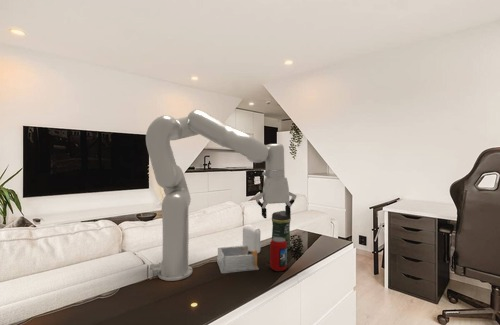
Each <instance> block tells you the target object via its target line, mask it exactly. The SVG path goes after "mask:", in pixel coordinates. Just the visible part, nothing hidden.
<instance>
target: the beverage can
mask: <svg viewBox="0 0 500 325" xmlns="http://www.w3.org/2000/svg"><path fill="white" fill-rule="evenodd" d="M269 244H270V245H269V267H270V269H271V270H274V271H276V272H283V271H284V270H286V269H287V266H288V249H287V242H286V240H285V238H282V237H274V238H272V237H271V240H270V243H269Z"/></svg>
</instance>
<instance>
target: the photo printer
mask: <svg viewBox="0 0 500 325" xmlns="http://www.w3.org/2000/svg"><path fill="white" fill-rule="evenodd" d="M242 246H248V252H250V253H252V250H257V254H259V253H260V252H261V230H260V228H259V227H258V226H256V225H254V224H245V225H244V226H243V227H242Z"/></svg>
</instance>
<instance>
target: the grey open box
mask: <svg viewBox="0 0 500 325" xmlns="http://www.w3.org/2000/svg"><path fill="white" fill-rule="evenodd" d="M216 262H217V263H216V264H217V265H218V268H219V271H220V274H229V273H240V272H249V271H258V270H259V269H260V268H259V266H258V253H257V250H252V252H251V253H249V251H248V246H243V245H238V246H237V245H236V246H234V245H233V246H224V247H217V258H216Z"/></svg>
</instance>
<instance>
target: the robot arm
mask: <svg viewBox="0 0 500 325" xmlns="http://www.w3.org/2000/svg"><path fill="white" fill-rule="evenodd" d="M198 135H200V136H201V137H203V138H206V139H207V140H209V141H211V142H213V143H214V144H217V145H218V146H221V147H223V148H225V149H226V148H227V149H230V150H232V151H234V152H236V153H239V154H240V155H242V156H244V157H246V159H247V160H248V161H249V162H251V163H255V164H257V163H263V162H265V170H264V171H263V172H262V173H261V174H262V176H264V179H263V187H262V192H261V193H259V194H258V195H256V196H254V200H255V201H256V203H257V205H258V206H259V207H261V216H262V218H263V219H267V215H268V214H267V208H266V207H267V205H269V204H270V205H271V204H272V205H273V204H284V203H285V207H284V208H285V210H284V211H285V215H286V216H288V217H290V214H291V212H292V211H291V210H292V209H291V207H292V205H293V204H294V203H295V201H296V198H297V194H294V193H292V192H290V191H289V190H290V189H289V183H288V182H289V181H288V178H287V177H285V172H286V171H285V147H284V145H283V144H282V143H269V144H264V143H263V142H261V141H260V140H258V139H256V138H255V137H253V136H250V135H248V134H247V133H245V132H243V131H240V130H238V129H236V128H235V127H232V126H231V125H229V124H227V123H225V122H223V121H222V120H219V119H218V118H216V117H214V116H213V115H211V114H209V113H207V112H206V111H203V110H201V109H194V110H192V111H191V112H189V113H188V115H187V116H184V117H180V118H175V117H173V116H171V115H164V114H163V115H160V116H159V117H156V118H155V119H154V120H153V121H152V122H150V125H149V126H148V128H147V130H146V134H145V145H146V148H147V153H148V156H149V159H150V163H151V168H152V170H153V174H154V177H155V181H156V183H157V185H158V186H159V187H160V188H162V189H163V191H164V195H165V196H164V197H163V200H162V203H161V219H162V220H161V221H162V259H161V262H159V263H154V264H153V263H152V264H151V263H150V264H149V270H150V271H151V270H152V272H154V273H155V272H157V277H158V278H159V279H161V280H163V281H166V282H173V281H180V280H184V279H187V278H189V277H190V276H191V275H192V274H193V268H192V266H190V265H189V242H190V241H189V240H190V239H189V236H190V235H189V228H190V227H189V207H190V204H191V200H192V199H191V194H190V191H189V187H188V184H187V181H186V178H185V174H184V172H183V170H182V168H181V167H180V166H179V165H177V162H176V159H175V156H174V152H173V149H172V146H171V141H178V140H181V139H185V138H190V137H194V136H198ZM290 197H291V199H290ZM261 198H262V200H263V201H262V202H261V201H260V199H261ZM291 215H292V214H291Z"/></svg>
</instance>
